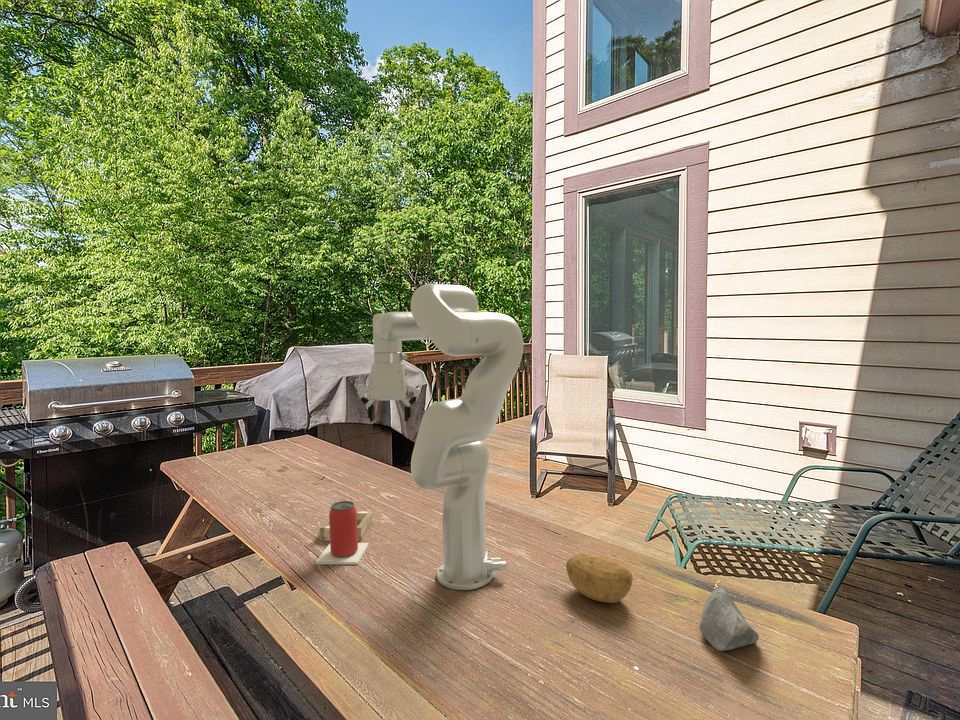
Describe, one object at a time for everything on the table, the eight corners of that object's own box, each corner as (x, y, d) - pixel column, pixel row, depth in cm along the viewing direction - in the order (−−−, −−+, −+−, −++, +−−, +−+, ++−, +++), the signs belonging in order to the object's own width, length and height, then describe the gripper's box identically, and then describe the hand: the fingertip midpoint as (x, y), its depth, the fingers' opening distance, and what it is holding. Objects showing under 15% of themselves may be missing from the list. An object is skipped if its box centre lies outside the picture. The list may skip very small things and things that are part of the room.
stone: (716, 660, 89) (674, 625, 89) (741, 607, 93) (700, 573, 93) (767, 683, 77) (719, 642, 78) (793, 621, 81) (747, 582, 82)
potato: (580, 575, 108) (580, 541, 107) (640, 599, 98) (641, 561, 98) (555, 594, 101) (555, 557, 100) (618, 621, 91) (618, 581, 90)
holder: (372, 523, 138) (372, 511, 138) (361, 540, 127) (361, 527, 127) (334, 523, 138) (334, 511, 138) (320, 540, 127) (320, 527, 127)
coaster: (368, 545, 124) (368, 542, 124) (357, 564, 114) (357, 561, 114) (330, 545, 125) (330, 542, 125) (315, 564, 115) (315, 561, 115)
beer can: (350, 559, 116) (348, 510, 115) (325, 557, 117) (323, 509, 116) (362, 547, 122) (361, 500, 121) (338, 545, 123) (336, 499, 122)
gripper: (421, 357, 135) (423, 417, 136) (360, 358, 136) (362, 418, 137) (417, 359, 128) (418, 423, 129) (352, 360, 128) (354, 423, 130)
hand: (389, 420), depth 133 cm, fingers open, 9 cm apart
